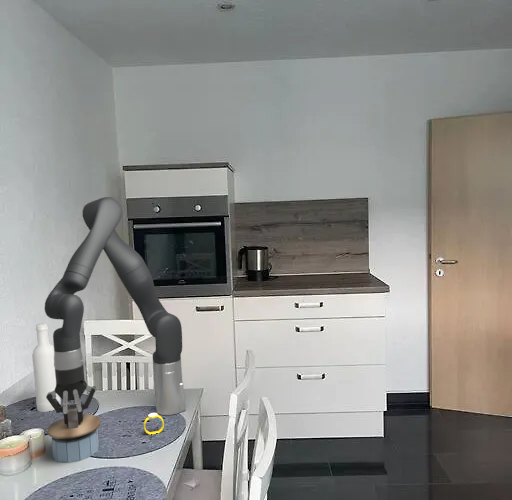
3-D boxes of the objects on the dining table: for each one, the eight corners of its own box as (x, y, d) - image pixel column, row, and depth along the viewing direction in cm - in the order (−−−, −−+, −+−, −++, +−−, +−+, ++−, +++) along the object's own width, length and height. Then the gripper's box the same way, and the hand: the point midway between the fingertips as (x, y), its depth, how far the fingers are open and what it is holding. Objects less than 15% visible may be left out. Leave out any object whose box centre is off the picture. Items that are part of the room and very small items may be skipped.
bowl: (99, 438, 148) (98, 421, 147) (97, 457, 136) (95, 438, 135) (57, 445, 145) (55, 427, 144) (50, 465, 133) (48, 445, 133)
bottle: (58, 411, 171) (50, 325, 168) (34, 413, 169) (26, 328, 167) (63, 402, 178) (56, 320, 176) (40, 404, 177) (33, 322, 175)
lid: (101, 414, 148) (100, 395, 148) (98, 434, 135) (97, 413, 134) (52, 421, 145) (50, 402, 144) (43, 442, 131) (41, 421, 131)
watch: (145, 437, 147) (142, 418, 147) (144, 434, 150) (141, 415, 149) (165, 432, 149) (162, 414, 148) (164, 429, 152) (161, 410, 151)
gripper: (95, 357, 144) (100, 415, 145) (44, 363, 140) (50, 422, 142) (93, 365, 136) (98, 425, 138) (40, 372, 133) (45, 433, 134)
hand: (74, 424), depth 140 cm, fingers closed on lid
